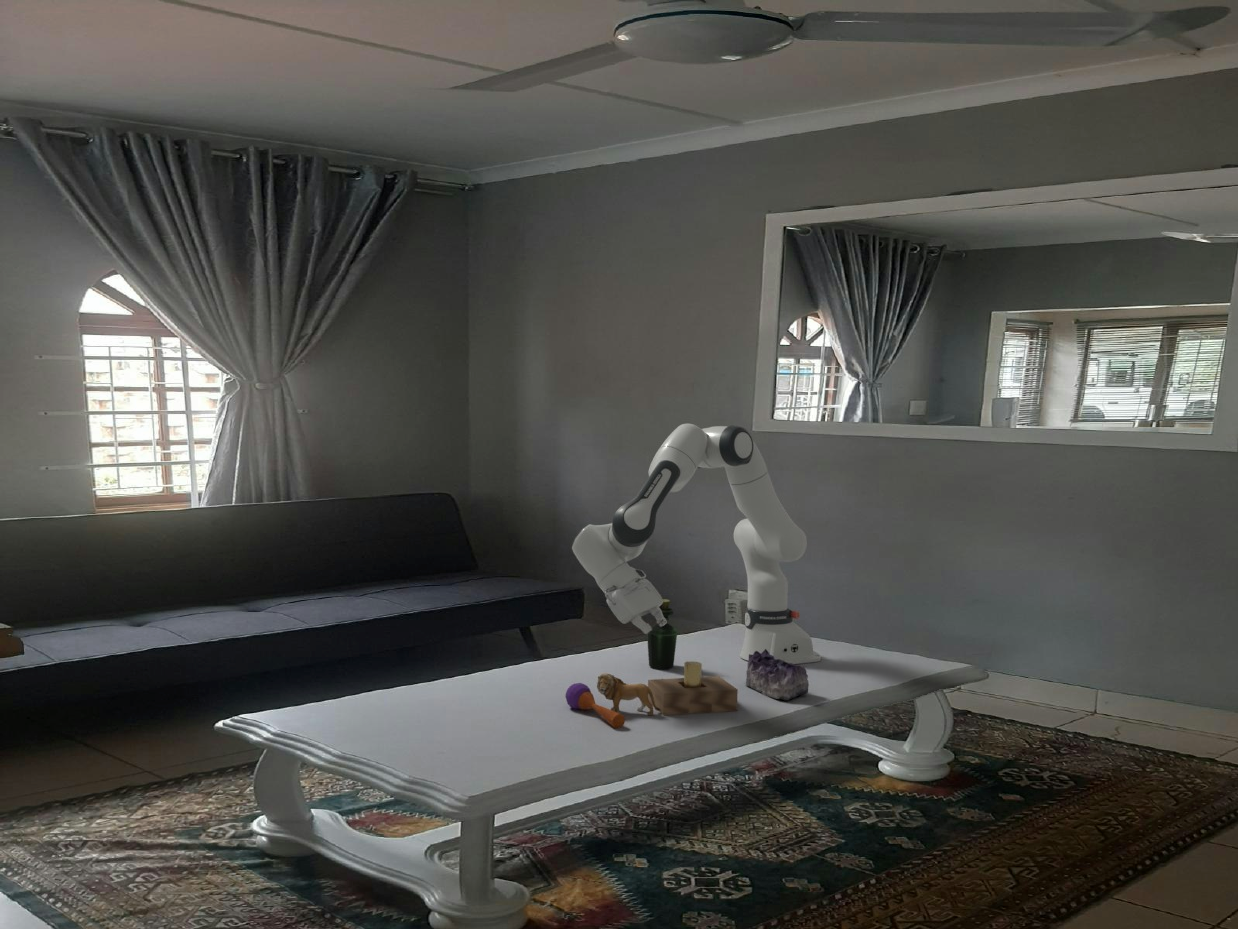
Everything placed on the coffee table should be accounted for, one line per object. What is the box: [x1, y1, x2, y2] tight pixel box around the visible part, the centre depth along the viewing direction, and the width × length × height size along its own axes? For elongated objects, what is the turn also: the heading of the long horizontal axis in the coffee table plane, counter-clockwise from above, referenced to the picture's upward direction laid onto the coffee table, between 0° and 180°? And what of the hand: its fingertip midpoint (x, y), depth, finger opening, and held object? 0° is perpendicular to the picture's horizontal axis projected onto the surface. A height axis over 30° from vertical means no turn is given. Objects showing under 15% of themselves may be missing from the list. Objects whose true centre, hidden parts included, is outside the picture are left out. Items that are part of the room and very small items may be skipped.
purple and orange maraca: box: [565, 682, 626, 729], centre depth 242 cm, size 6×6×20 cm
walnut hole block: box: [647, 675, 739, 716], centre depth 252 cm, size 18×12×5 cm, turn 105°
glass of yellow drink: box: [683, 661, 703, 688], centre depth 252 cm, size 4×4×10 cm
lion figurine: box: [596, 673, 660, 716], centre depth 245 cm, size 15×5×9 cm, turn 93°
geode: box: [745, 649, 810, 702], centre depth 267 cm, size 20×12×10 cm, turn 30°
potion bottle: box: [646, 598, 678, 671], centre depth 287 cm, size 8×8×18 cm
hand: (656, 628), depth 255 cm, fingers open, 8 cm apart
